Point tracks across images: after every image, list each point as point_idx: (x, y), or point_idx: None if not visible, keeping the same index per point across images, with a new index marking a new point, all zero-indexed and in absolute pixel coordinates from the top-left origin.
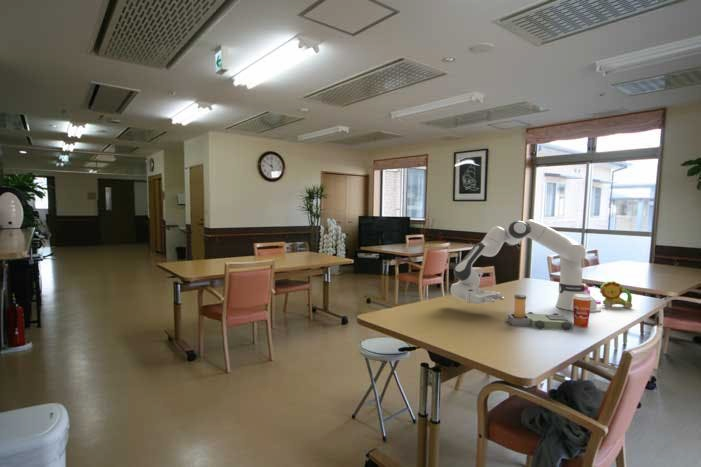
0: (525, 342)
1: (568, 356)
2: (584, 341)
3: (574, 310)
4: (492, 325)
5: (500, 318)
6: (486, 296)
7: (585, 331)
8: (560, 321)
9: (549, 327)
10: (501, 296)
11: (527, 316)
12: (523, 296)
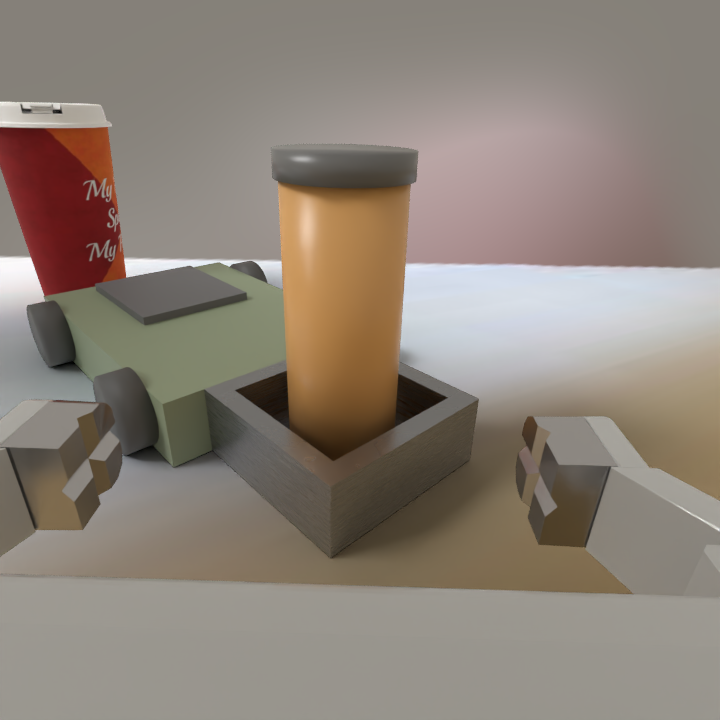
0: (653, 333)
1: (581, 267)
2: None
3: (91, 217)
4: None
5: None
6: (652, 601)
7: None
8: (240, 280)
9: None
10: (18, 435)
11: (280, 367)
12: (345, 145)
